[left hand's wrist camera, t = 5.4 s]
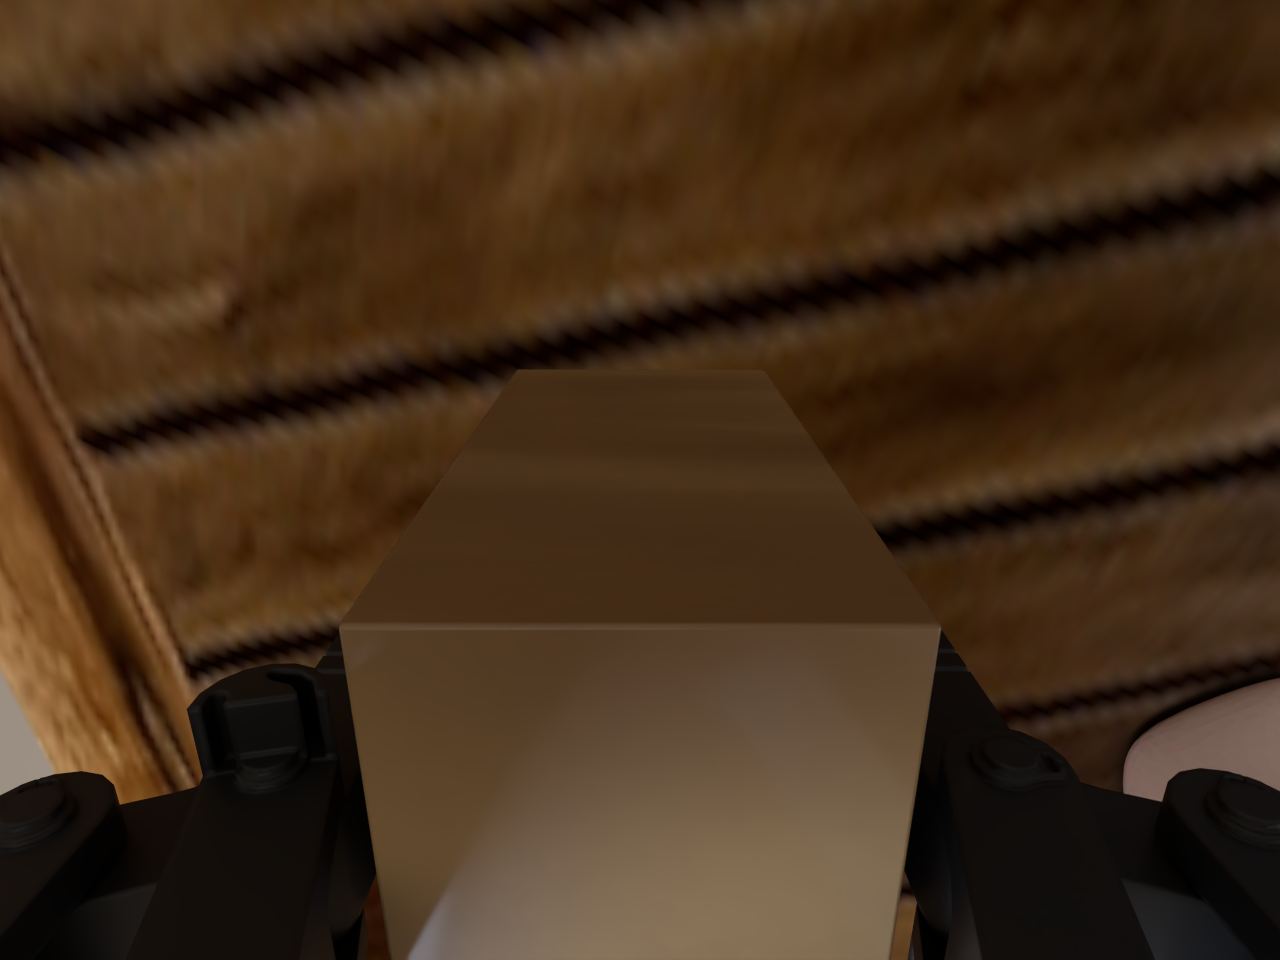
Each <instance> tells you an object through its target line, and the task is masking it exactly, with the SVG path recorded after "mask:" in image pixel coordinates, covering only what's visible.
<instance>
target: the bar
mask: <svg viewBox="0 0 1280 960" xmlns="http://www.w3.org/2000/svg"><path fill="white" fill-rule="evenodd" d="M339 631H340V638H341V644H342V651H343V657H344V664H345V670H346V677H347V683H348V690H349V696H350V703H351V709H352V716H353V722H354V729H355V735H356V742H357V748H358V755H359V761H360V768H361V774H362V781H363V787H364V794H365V800H366V807H367V813H368V820H369V826H370V833H371V839H372V846H373V853H374V859H375V866H376V872H377V879H378V885H379V892H380V898H381V905H382V911H383V918H384V924H385V931H386V937H387V944H388V950H389V957H390V960H890V958H891V952H892V945H893V939H894V932H895V926H896V919H897V913H898V906H899V900H900V893H901V887H902V880H903V874H904V867H905V861H906V854H907V848H908V841H909V835H910V828H911V822H912V815H913V809H914V802H915V796H916V789H917V783H918V776H919V770H920V763H921V757H922V750H923V744H924V737H925V731H926V724H927V718H928V711H929V705H930V698H931V692H932V685H933V679H934V672H935V666H936V659H937V653H938V646H939V640H940V633H941V626H940V623H939V622H938V620H937V619H936V617H935V616H934V614H933V613H932V612H931V610H930V609H929V607H928V606H927V604H926V603H925V601H924V600H923V599H922V597H921V596H920V594H919V593H918V591H917V590H916V588H915V587H914V586H913V584H912V583H911V581H910V580H909V578H908V577H907V576H906V574H905V573H904V571H903V570H902V568H901V567H900V565H899V564H898V563H897V561H896V560H895V558H894V557H893V555H892V554H891V552H890V551H889V550H888V548H887V547H886V545H885V544H884V542H883V541H882V539H881V538H880V537H879V535H878V534H877V532H876V531H875V529H874V528H873V527H872V525H871V524H870V522H869V521H868V519H867V518H866V516H865V515H864V514H863V512H862V511H861V509H860V508H859V506H858V505H857V503H856V502H855V501H854V499H853V498H852V496H851V495H850V493H849V492H848V490H847V489H846V488H845V486H844V485H843V483H842V482H841V480H840V479H839V478H838V476H837V475H836V473H835V472H834V470H833V469H832V467H831V466H830V465H829V463H828V462H827V460H826V459H825V457H824V456H823V454H822V453H821V452H820V450H819V449H818V447H817V446H816V444H815V443H814V441H813V440H812V439H811V437H810V436H809V434H808V433H807V431H806V430H805V429H804V427H803V426H802V424H801V423H800V421H799V420H798V418H797V417H796V416H795V414H794V413H793V411H792V410H791V408H790V407H789V405H788V404H787V403H786V401H785V400H784V398H783V397H782V395H781V394H780V392H779V391H778V390H777V388H776V387H775V385H774V384H773V382H772V381H771V380H770V378H769V377H768V375H767V374H766V372H765V371H764V370H517V371H516V373H515V374H514V375H513V377H512V378H511V380H510V381H509V383H508V384H507V386H506V387H505V388H504V390H503V391H502V393H501V394H500V396H499V397H498V398H497V400H496V401H495V403H494V404H493V406H492V407H491V408H490V410H489V411H488V413H487V414H486V416H485V417H484V418H483V420H482V421H481V423H480V424H479V426H478V427H477V428H476V430H475V431H474V433H473V434H472V436H471V437H470V438H469V440H468V441H467V443H466V444H465V446H464V447H463V448H462V450H461V451H460V453H459V454H458V456H457V457H456V459H455V460H454V461H453V463H452V464H451V466H450V467H449V469H448V470H447V471H446V473H445V474H444V476H443V477H442V479H441V480H440V481H439V483H438V484H437V486H436V487H435V489H434V490H433V491H432V493H431V494H430V496H429V497H428V499H427V500H426V501H425V503H424V504H423V506H422V507H421V509H420V510H419V511H418V513H417V514H416V516H415V517H414V519H413V520H412V521H411V523H410V524H409V526H408V527H407V529H406V530H405V531H404V533H403V534H402V536H401V537H400V539H399V540H398V542H397V543H396V544H395V546H394V547H393V549H392V550H391V552H390V553H389V554H388V556H387V557H386V559H385V560H384V562H383V563H382V564H381V566H380V567H379V569H378V570H377V572H376V573H375V574H374V576H373V577H372V579H371V580H370V582H369V583H368V584H367V586H366V587H365V589H364V590H363V592H362V593H361V594H360V596H359V597H358V599H357V600H356V602H355V603H354V604H353V606H352V607H351V609H350V610H349V612H348V613H347V615H346V616H345V617H344V619H343V620H342V622H341V623H340V626H339Z"/></svg>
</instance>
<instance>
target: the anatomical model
mask: <svg viewBox="0 0 1280 960" xmlns="http://www.w3.org/2000/svg"><path fill="white" fill-rule="evenodd" d="M1197 768H1205V769H1214V770H1223V771H1229V772H1232V773H1236V774H1241V775H1242V776H1247V777H1250V778H1253V779H1256V780H1258V781H1261V782H1263V783H1264V784H1266V785H1268V786H1271V787H1273V788H1275V789H1277V790H1279V791H1280V678H1276V679H1271V680H1267V681H1263V682H1260V683H1256V684H1253V685H1249V686H1246V687H1242V688H1239V689H1237V690H1234V691H1231V692H1228V693H1225V694H1222V695H1220V696H1217V697H1214V698H1212V699H1209V700H1207V701H1204V702H1202V703H1199V704H1197V705H1195V706H1192V707H1190V708H1187V709H1185V710H1183V711H1181V712H1179V713H1177V714H1175V715H1173V716H1171V717H1169V718H1167V719H1165V720H1163V721H1161V722H1159V723H1157V724H1156V725H1155V726H1153V727H1152V728H1150V729H1149V730H1147V731H1146V732H1145V733H1143V734H1142V735H1141V736H1140V737H1139V738H1138V739H1137V740H1136V741H1135V742H1134V744H1133V745H1132V747H1131V749H1130V750H1129V752H1128V755H1127V757H1126V761H1125V765H1124V775H1123V791H1124V794H1129V795H1134V796H1138V797H1143V798H1147V799H1152V800H1157V801H1161V802H1162V799H1163V796H1164V793H1165V789H1166V786H1167V782H1168V781H1169V780H1170V779H1171V778H1172V777H1174V776H1175V775H1176V774H1177V773H1178V772H1179V771H1185V770H1191V769H1197Z"/></svg>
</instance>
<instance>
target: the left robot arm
mask: <svg viewBox="0 0 1280 960" xmlns="http://www.w3.org/2000/svg"><path fill="white" fill-rule="evenodd" d="M187 712H188V716H189V720H190V724H191V728H192V732H193V737H194V741H195V745H196V749H197V753H198V757H199V761H200V766H201V770H202V774H203V777H202V780H201V782H200V784H199V786H197V787H194V788H190V789H187V790H183V791H180V792H176V793H171V794H167V795H162V796H158V797H153V798H149V799H144V800H139V801H135V802H130V803H126V804H121V805H120V804H119V800H118V797H117V794H116V790H115V787H114V785H113V784H112V783H111V782H110V781H109V780H108V779H107V778H105V777H104V776H103V775H100V774H95V773H89V772H83V771H79V772H71V773H62V774H54V775H51V776H47V777H43V778H40V779H38V780H33V781H30V782H27V783H25V784H22V785H20V786H18V787H16V788H14V789H12V790H10V791H8V792H6V793H4V794H2V795H0V960H366V955H367V946H368V932H367V925H366V918H365V912H364V904H365V901H366V899H367V896H368V893H369V891H370V888H371V886H372V883H373V881H374V878H375V875H376V873H377V872H376V866H375V859H374V853H373V846H372V839H371V833H370V826H369V820H368V813H367V807H366V800H365V794H364V787H363V781H362V774H361V768H360V761H359V755H358V748H357V742H356V735H355V729H354V722H353V716H352V709H351V703H350V696H349V690H348V683H347V677H346V670H345V664H344V657H343V651H342V644H341V638H340V633H339V634H338V635H337V637H336V638H335V640H334V641H333V643H332V644H331V646H330V647H329V649H328V650H327V652H326V656H323V657H322V659H321V660H320V662H319V663H318V665H317V666H316V668H311V667H308V666H304V665H300V664H269V665H265V666H260V667H255V668H251V669H246V670H243V671H241V672H239V673H236V674H234V675H231V676H229V677H226V678H224V679H221V680H220V681H218V682H216V683H215V684H213V685H212V686H210V687H209V688H207V689H206V690H204V691H203V692H201V693H200V694H199V695H198V696H197V698H196V699H195V700H194V701H193V702H192V704H191V705H190V706H189V707H188V708H187ZM904 870H905V873H906V875H907V878H908V880H909V883H910V885H911V888H912V891H913V893H914V896H915V898H916V901H917V906H916V912H915V918H914V924H913V930H912V936H911V943H910V949H909V955H908V960H1280V791H1279V790H1277V789H1275V788H1273V787H1271V786H1268V785H1266V784H1264V783H1263V782H1261V781H1258V780H1256V779H1253V778H1250V777H1247V776H1242V775H1241V774H1236V773H1232V772H1229V771H1223V770H1214V769H1205V768H1197V769H1191V770H1185V771H1179V772H1178V773H1177V774H1176V775H1175V776H1174V777H1172V778H1171V779H1170V780H1169V781H1168V782H1167V786H1166V789H1165V793H1164V796H1163V799H1162V802H1161V801H1157V800H1152V799H1147V798H1143V797H1138V796H1134V795H1129V794H1124V793H1120V792H1115V791H1111V790H1106V789H1102V788H1098V787H1095V786H1091V785H1088V784H1084V783H1081V782H1080V781H1079V778H1078V776H1077V774H1076V773H1075V771H1074V770H1073V769H1072V767H1071V766H1070V764H1069V763H1068V762H1067V760H1066V759H1065V758H1064V757H1063V756H1062V755H1060V754H1059V753H1058V752H1056V751H1055V750H1054V749H1052V748H1051V747H1050V746H1048V745H1047V744H1046V743H1044V742H1042V741H1040V740H1038V739H1035V738H1033V737H1031V736H1029V735H1027V734H1025V733H1022V732H1019V731H1015V730H1011V729H1009V727H1008V726H1007V724H1006V723H1005V722H1004V720H1003V719H1002V717H1001V716H1000V714H999V713H998V711H997V710H996V708H995V707H994V706H993V704H992V703H991V701H990V700H989V698H988V697H987V695H986V694H985V693H984V691H983V690H982V688H981V687H980V685H979V684H978V682H977V681H976V679H975V678H974V677H973V675H972V674H971V672H967V666H966V665H965V663H964V662H963V661H962V659H961V658H960V656H959V655H958V654H955V649H954V647H953V646H952V645H951V643H950V642H949V640H948V639H947V637H946V636H945V634H944V633H943V631H942V630H941V633H940V640H939V646H938V653H937V659H936V666H935V672H934V679H933V685H932V692H931V698H930V705H929V711H928V718H927V724H926V731H925V737H924V744H923V750H922V757H921V763H920V770H919V776H918V783H917V789H916V796H915V802H914V809H913V815H912V822H911V828H910V835H909V841H908V848H907V854H906V861H905V867H904Z"/></svg>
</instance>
